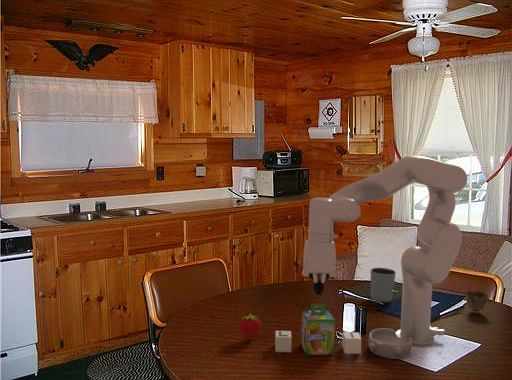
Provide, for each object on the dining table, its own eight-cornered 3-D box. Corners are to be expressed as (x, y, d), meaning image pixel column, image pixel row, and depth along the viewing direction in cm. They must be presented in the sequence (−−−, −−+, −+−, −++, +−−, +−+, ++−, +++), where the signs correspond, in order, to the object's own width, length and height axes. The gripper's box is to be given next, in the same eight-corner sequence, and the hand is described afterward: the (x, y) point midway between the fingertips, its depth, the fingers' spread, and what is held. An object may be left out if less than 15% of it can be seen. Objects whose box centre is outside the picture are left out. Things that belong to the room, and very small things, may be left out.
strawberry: (237, 337, 176) (237, 308, 175) (259, 335, 177) (259, 307, 176) (239, 344, 170) (239, 315, 169) (262, 343, 171) (262, 313, 170)
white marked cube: (290, 345, 170) (290, 330, 169) (291, 352, 165) (291, 336, 164) (275, 345, 170) (275, 330, 169) (275, 352, 165) (275, 336, 164)
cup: (482, 310, 205) (483, 290, 204) (488, 316, 198) (490, 296, 197) (462, 309, 206) (464, 289, 205) (468, 316, 199) (469, 295, 198)
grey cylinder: (364, 296, 220) (365, 268, 218) (383, 293, 224) (384, 266, 222) (379, 304, 211) (381, 275, 209) (399, 300, 215) (400, 272, 213)
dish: (379, 338, 177) (379, 324, 176) (418, 350, 168) (419, 335, 167) (358, 352, 166) (359, 337, 165) (399, 365, 157) (400, 350, 156)
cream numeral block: (357, 347, 169) (358, 332, 169) (360, 353, 165) (361, 338, 164) (342, 346, 170) (343, 331, 169) (344, 353, 165) (345, 337, 164)
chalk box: (306, 356, 162) (307, 310, 160) (300, 344, 171) (301, 300, 169) (335, 355, 163) (336, 309, 161) (327, 342, 172) (329, 299, 170)
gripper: (342, 235, 166) (340, 290, 168) (295, 234, 166) (294, 289, 169) (346, 240, 159) (343, 298, 161) (297, 239, 159) (295, 297, 161)
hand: (318, 293), depth 165 cm, fingers closed
